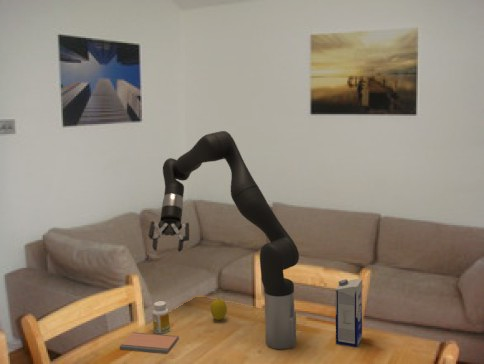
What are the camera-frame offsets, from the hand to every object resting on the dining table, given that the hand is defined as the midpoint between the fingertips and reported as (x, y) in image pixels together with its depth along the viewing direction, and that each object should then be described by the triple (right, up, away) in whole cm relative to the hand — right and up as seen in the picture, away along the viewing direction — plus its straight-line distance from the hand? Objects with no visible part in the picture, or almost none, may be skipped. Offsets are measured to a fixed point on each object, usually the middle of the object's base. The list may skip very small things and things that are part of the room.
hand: (167, 250), depth 194 cm
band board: (-3, -28, -17) cm, 33 cm away
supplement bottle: (-1, -26, -8) cm, 27 cm away
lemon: (+18, -24, -2) cm, 31 cm away
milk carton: (+60, -26, -20) cm, 69 cm away
